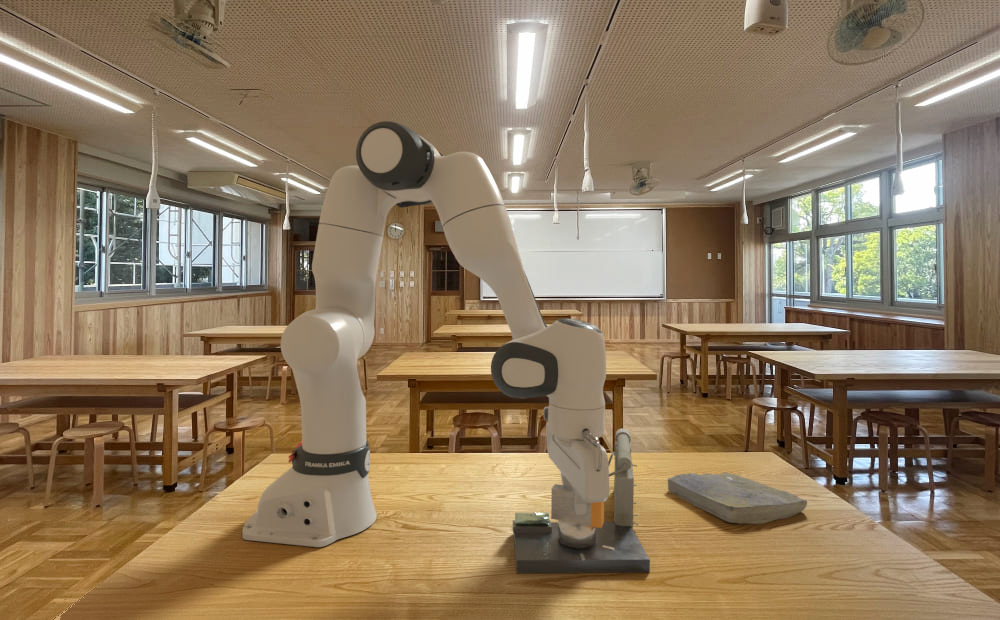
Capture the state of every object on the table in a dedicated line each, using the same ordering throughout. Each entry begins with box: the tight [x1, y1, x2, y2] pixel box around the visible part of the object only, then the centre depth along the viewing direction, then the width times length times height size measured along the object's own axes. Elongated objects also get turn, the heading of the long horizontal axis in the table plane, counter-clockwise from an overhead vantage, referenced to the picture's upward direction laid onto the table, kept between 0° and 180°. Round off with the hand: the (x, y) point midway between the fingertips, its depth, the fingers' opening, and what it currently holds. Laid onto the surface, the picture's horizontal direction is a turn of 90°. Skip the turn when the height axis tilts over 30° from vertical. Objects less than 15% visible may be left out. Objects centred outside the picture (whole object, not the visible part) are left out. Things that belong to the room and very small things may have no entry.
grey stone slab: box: [667, 472, 808, 525], centre depth 102 cm, size 20×5×17 cm
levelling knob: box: [550, 483, 605, 548], centre depth 83 cm, size 8×6×8 cm
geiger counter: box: [608, 428, 639, 530], centre depth 100 cm, size 14×6×25 cm
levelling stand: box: [512, 511, 651, 574], centre depth 83 cm, size 20×12×5 cm, turn 91°
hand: (574, 505), depth 83 cm, fingers closed on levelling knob, 3 cm apart
